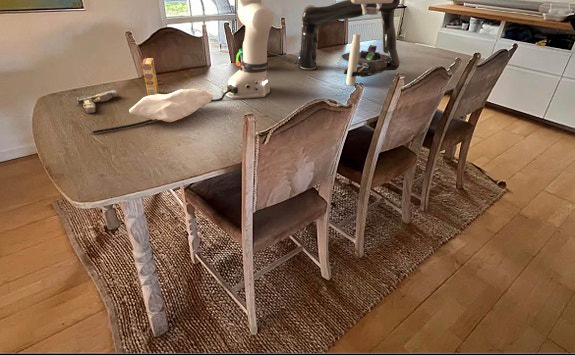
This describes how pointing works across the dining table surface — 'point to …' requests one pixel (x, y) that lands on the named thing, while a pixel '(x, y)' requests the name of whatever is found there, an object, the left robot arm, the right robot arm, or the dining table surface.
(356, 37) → the cream tall cylinder
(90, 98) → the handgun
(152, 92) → the candy box
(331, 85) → the dining table surface
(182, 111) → the crumpled cloth
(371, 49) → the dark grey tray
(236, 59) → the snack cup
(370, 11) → the cap
